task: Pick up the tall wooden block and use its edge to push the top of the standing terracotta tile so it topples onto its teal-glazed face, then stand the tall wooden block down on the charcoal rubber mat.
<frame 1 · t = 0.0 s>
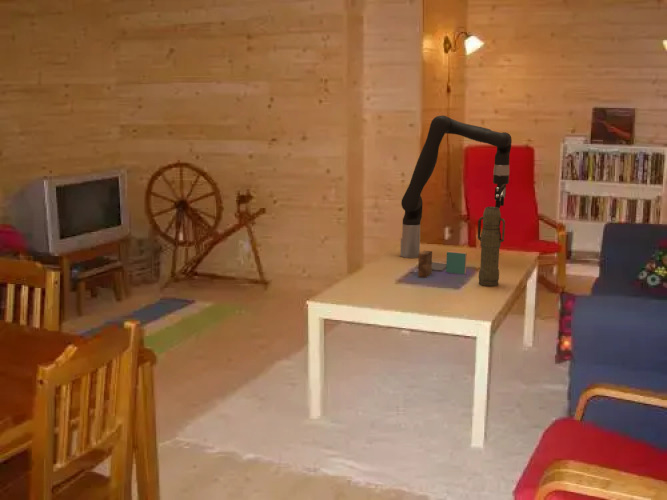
hand: (499, 206, 381), 29 cm above the table, fingers open, 8 cm apart
tall wooden block: (424, 275, 365), on the table
tile: (455, 272, 370), on the table
rest mat: (433, 267, 381), on the table
olive canister: (488, 284, 349), on the table
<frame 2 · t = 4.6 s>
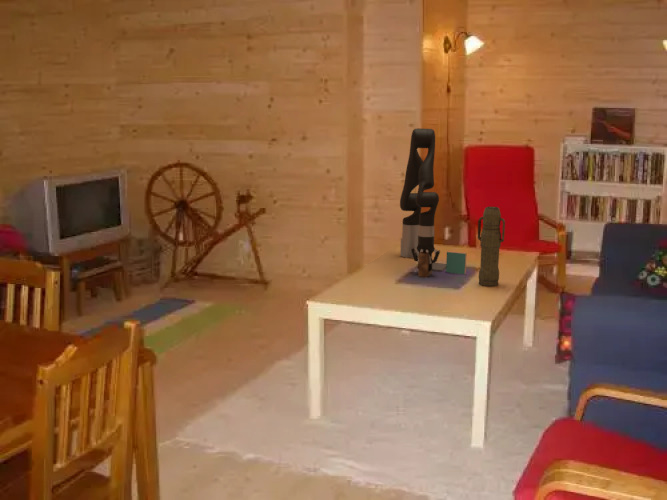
hand: (425, 270, 364), 2 cm above the table, fingers closed on tall wooden block, 4 cm apart
tall wooden block: (424, 275, 365), on the table, touching gripper
everything else where it was.
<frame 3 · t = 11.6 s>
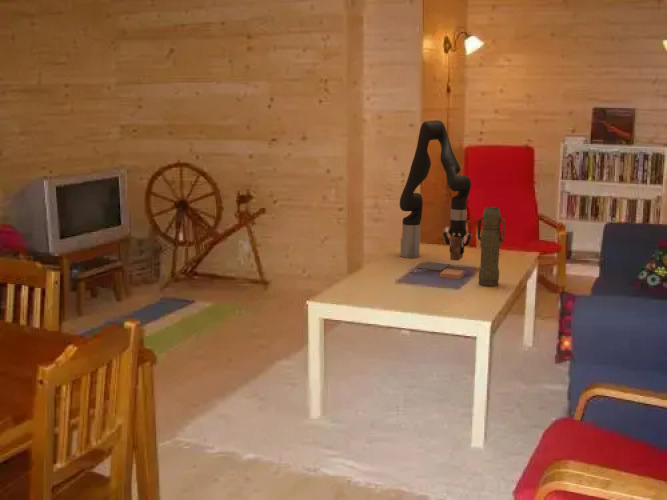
hand: (456, 253, 368), 9 cm above the table, fingers closed on tall wooden block, 4 cm apart
tall wooden block: (456, 258, 368), point 7 cm above the table, touching gripper
tile: (455, 272, 368), point 1 cm above the table, tilted 90°
everything else where it was.
when the fingers open (4 cm above the table, at t = 16.7 s): tall wooden block stays where it is, resting on rest mat.
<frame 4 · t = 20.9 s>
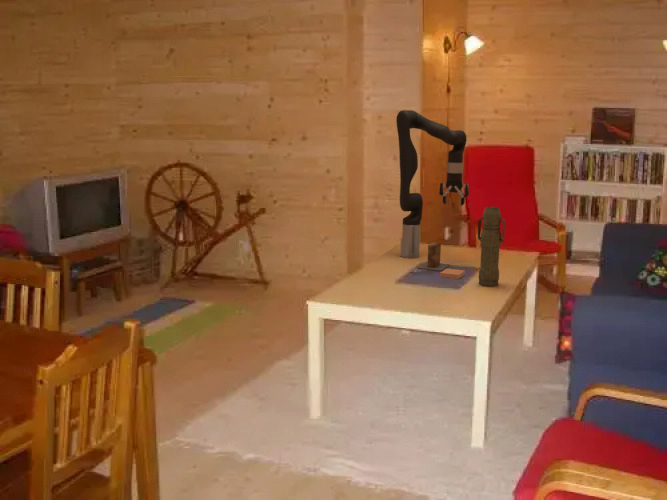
hand: (453, 204, 381), 30 cm above the table, fingers open, 8 cm apart
tall wooden block: (433, 265, 381), point 1 cm above the table, touching rest mat
at the end: tile tilted 90°; tile inside the target area (1.7 cm from its centre), point 0.7 cm above the table; tall wooden block inside the target area on the rest mat (0.1 cm from its centre), point 0.6 cm above the rest mat's base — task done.
